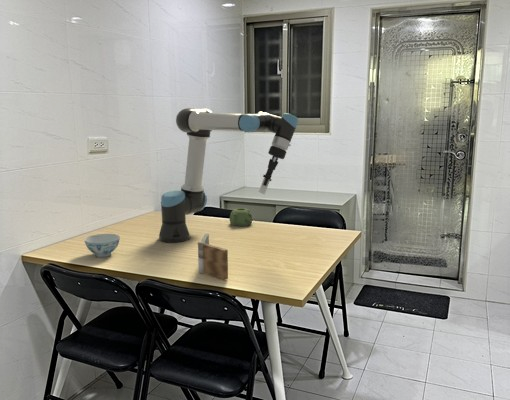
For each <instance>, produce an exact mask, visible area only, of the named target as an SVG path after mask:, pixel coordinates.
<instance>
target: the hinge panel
mask: <svg viewBox="0 0 510 400" xmlns="http://www.w3.org/2000/svg"><path fill="white" fill-rule="evenodd" d="M200 242H205V243H206V244H210V234H209V233H204V234H203V236H202V239H201V240H200ZM197 259H198V261H197V262H198V266H197V267H198V273H199V274H205V273H204V258H199V257H198V256H197Z"/></svg>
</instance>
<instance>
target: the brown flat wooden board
mask: <svg viewBox="0 0 510 400" xmlns="http://www.w3.org/2000/svg"><path fill="white" fill-rule="evenodd" d="M197 253H198V254H197V258H198V257H199V258H204V273H203V274H207V275H210V276H212V277H213V276H214V277H215V278H218V279H220V280H224V281H226V280H228V279H229V267H228V266H229V265H228V262H229V259H228V258H229V257H228V256H229V255H228V253H229V252H228V249H226V248H223V247H220V246H218V245H217V246H216V245H213V244H210V243H209V244H206V243H205V242H201V241H199V242H197Z"/></svg>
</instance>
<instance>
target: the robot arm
mask: <svg viewBox="0 0 510 400" xmlns="http://www.w3.org/2000/svg"><path fill="white" fill-rule="evenodd" d="M175 123H176V126H177V128H178V129H179V130H180V131H181V132H183V133H186V136H187V137H188V148H187V149H188V150H187V158H186V166H185V167H186V168H185V176H184V178H185V179H184V183H183V184H182V185H181V187H180V190H171V191H170V190H169V191H167V192H164V193H163V194H162V195H161V198H160V199H161V201H160V206H161V209H160V210H161V227H160V230H159V234H158V240H159V241H160V242H164V243H180V242H185V241H188V240H189V239H190V235H191V234H190V232H189V229H188V226H187V223H186V220H187V219H186V218H187V217H186V216H188V215H191V214H195V213H199V212H201V211H202V210H204V208H205V207H206V205H207V201H208V197H207V195H206V192H205V191H204V189H205V188H204V187H203V186H202V184H203V183H202V182H203V174H204V165H205V164H204V163H205V157H206V149H207V148H206V147H207V146H206V145H207V140H208V139H209V138H211V132H212V131H226V132H227V131H228V132H229V131H230V132H245V133H254V132H255V133H256V132H271V133H274V137H273V139H272V142H271V145H270V148H269V149H268V152H267V154H269V155H270V156H272V157H271V158H269V161H268V165H267V170H266V172H265V174H263V175H262V178H263V180H262V183H261V185H260V187H259V190H258V192H259V193H260V194H263V195H265V194H266V193H267V189H268V186H269V185H270V182H272V181H273V179H271V178H272V175H273V173H274V171H275V170H276V169H277V167H278V164H279V161H278V160H279V159H281V160H284V159H285V157H286V154H287V151H288V149H289V147H291V146H292V145H291V142H292V140H293V139H292V138H293V137H294V133H295V132H296V130H297V126H298V123H299V119H298V117H297V116H295V115H293V114H291V113H289V112H287V113H286V112H284V113H283V114H282V115H281V116H278V115H275V114H272V113H269V112H266V111H264V112H263V111H258V112H257V113H225V112H224V113H221V112H220V113H219V112H217V113H215V112H213V111H212V110H210V109H208V108H204V107H203V108H202V107H194V108H190V107H189V108H188V107H187V108H183V109H181V110H180V111H179V112H177V115H176V118H175Z"/></svg>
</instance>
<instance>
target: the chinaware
mask: <svg viewBox="0 0 510 400" xmlns="http://www.w3.org/2000/svg"><path fill="white" fill-rule="evenodd" d="M120 239H121V236H120V235H119V234H116V233H96V234H93V235H89V236H87V237H85V238H84V244H85V246H86V247H87V249H88V250H89V251H90V252H91V253H92V254H94V255H95V257H97V258H98V257H99V258H105V257H109V256H112V253H113V252H114V251H115V250H116V249H117V248H118V246H119V243H120Z"/></svg>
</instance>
